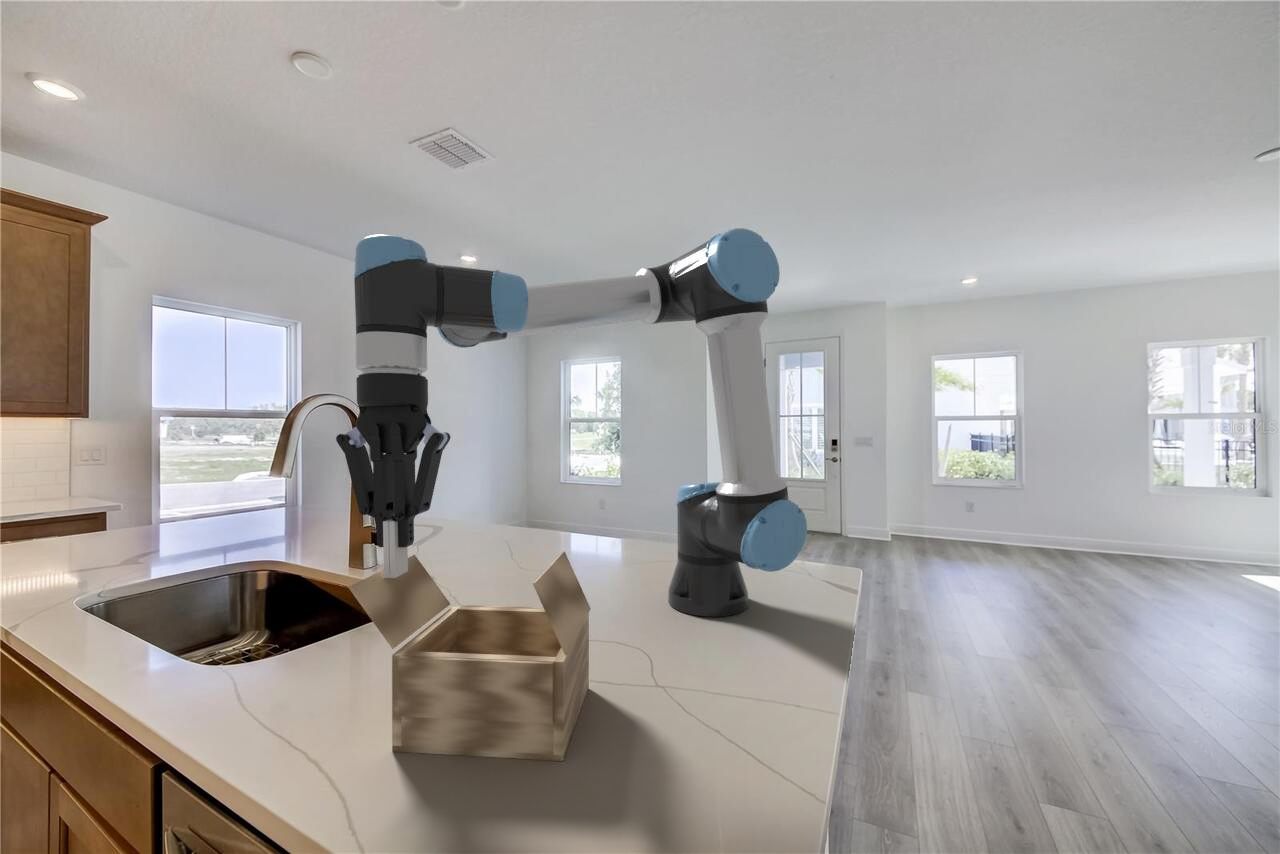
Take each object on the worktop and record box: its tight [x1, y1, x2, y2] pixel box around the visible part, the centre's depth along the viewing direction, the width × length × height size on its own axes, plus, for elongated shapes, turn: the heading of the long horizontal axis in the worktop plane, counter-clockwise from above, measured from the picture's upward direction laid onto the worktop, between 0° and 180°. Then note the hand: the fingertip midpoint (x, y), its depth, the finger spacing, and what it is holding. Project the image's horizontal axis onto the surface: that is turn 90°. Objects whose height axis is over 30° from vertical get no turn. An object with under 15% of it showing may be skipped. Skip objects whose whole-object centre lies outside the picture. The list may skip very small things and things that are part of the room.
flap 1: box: [348, 554, 451, 650], centre depth 59 cm, size 8×13×1 cm
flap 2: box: [532, 550, 591, 655], centre depth 57 cm, size 8×13×1 cm
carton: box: [391, 604, 590, 762], centre depth 58 cm, size 18×15×10 cm
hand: (396, 574), depth 59 cm, fingers closed
